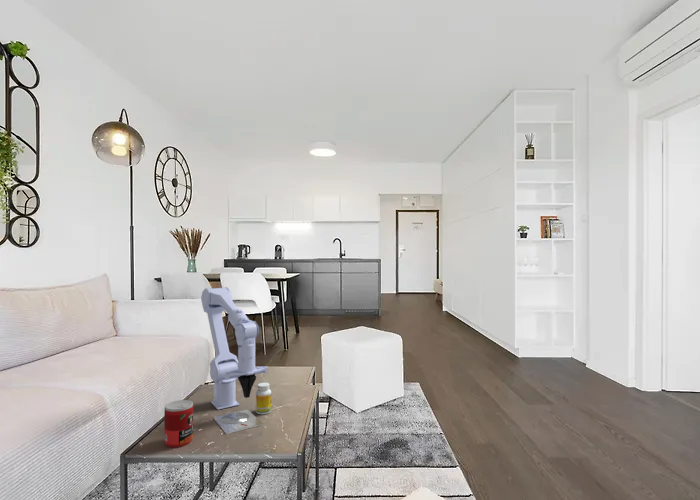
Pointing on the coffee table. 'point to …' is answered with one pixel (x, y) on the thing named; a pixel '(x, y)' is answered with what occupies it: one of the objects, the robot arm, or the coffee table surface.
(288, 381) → the coffee table surface
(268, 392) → the supplement bottle
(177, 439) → the canned food
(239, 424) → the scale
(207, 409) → the coffee table surface
